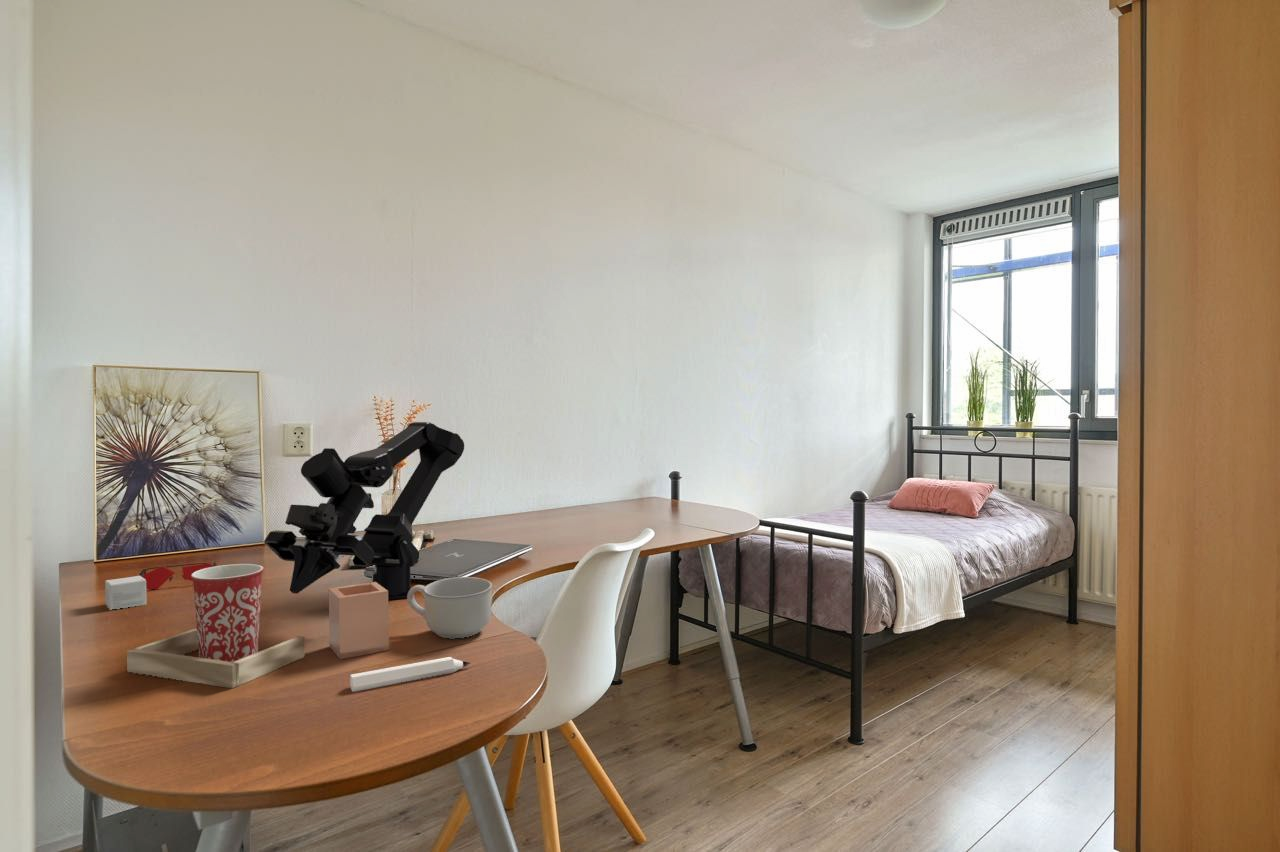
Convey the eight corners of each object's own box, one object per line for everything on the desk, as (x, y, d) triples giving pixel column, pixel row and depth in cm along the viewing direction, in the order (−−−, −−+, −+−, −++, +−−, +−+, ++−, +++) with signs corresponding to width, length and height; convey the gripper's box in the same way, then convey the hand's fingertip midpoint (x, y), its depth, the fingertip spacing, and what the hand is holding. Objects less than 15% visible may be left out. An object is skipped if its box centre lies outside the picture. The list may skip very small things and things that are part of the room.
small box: (140, 599, 140) (140, 574, 140) (147, 605, 136) (146, 579, 135) (104, 605, 136) (103, 579, 136) (110, 611, 132) (109, 584, 131)
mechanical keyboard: (429, 568, 168) (428, 554, 168) (341, 574, 164) (340, 559, 163) (435, 540, 205) (434, 528, 205) (363, 543, 200) (363, 531, 200)
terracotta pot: (376, 638, 116) (375, 581, 115) (389, 650, 110) (388, 591, 110) (329, 646, 112) (328, 588, 111) (340, 659, 106) (339, 598, 106)
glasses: (136, 594, 145) (135, 569, 145) (143, 577, 159) (143, 555, 159) (217, 585, 152) (216, 561, 152) (217, 570, 166) (216, 548, 166)
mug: (269, 666, 103) (267, 571, 103) (195, 679, 98) (193, 580, 98) (257, 642, 114) (256, 556, 113) (189, 654, 109) (187, 564, 108)
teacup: (504, 627, 121) (504, 579, 121) (468, 647, 111) (468, 595, 111) (433, 619, 126) (432, 573, 125) (393, 638, 115) (392, 588, 115)
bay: (206, 644, 113) (206, 625, 113) (304, 656, 107) (304, 636, 107) (127, 672, 101) (126, 650, 101) (232, 688, 95) (232, 665, 95)
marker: (472, 674, 102) (351, 697, 94) (468, 663, 104) (349, 684, 96) (475, 661, 101) (353, 682, 93) (471, 650, 103) (351, 670, 95)
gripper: (271, 483, 125) (217, 561, 115) (361, 487, 119) (312, 569, 109) (306, 521, 132) (259, 597, 122) (392, 526, 127) (350, 606, 116)
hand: (293, 592), depth 117 cm, fingers closed
